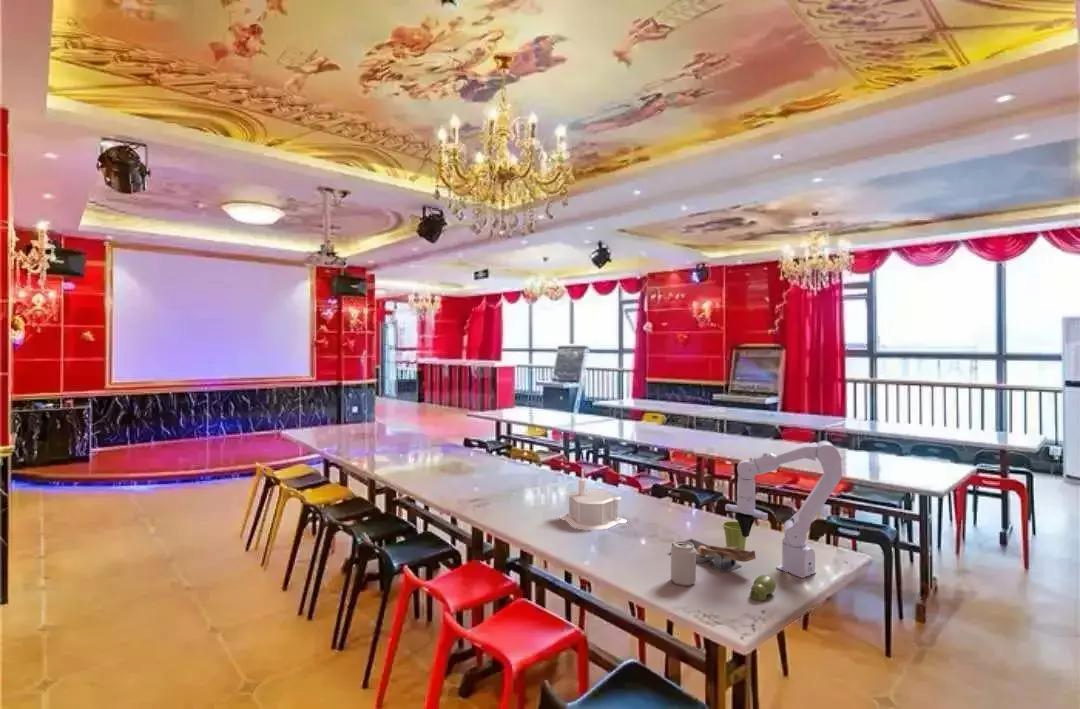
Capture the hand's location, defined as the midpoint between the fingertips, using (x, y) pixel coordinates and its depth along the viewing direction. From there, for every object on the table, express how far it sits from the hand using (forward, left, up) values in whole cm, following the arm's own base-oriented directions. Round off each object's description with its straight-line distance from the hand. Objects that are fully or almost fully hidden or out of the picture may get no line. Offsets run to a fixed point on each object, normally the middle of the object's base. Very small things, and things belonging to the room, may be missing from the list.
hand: (745, 536), depth 188 cm
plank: (+1, +4, -6) cm, 7 cm away
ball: (+12, +8, -7) cm, 16 cm away
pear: (-18, +16, -10) cm, 26 cm away
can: (+1, +29, -10) cm, 31 cm away
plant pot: (+11, -9, -10) cm, 17 cm away
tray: (+15, +8, -9) cm, 19 cm away
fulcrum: (+2, +8, -9) cm, 12 cm away
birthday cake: (+65, +14, -10) cm, 67 cm away
